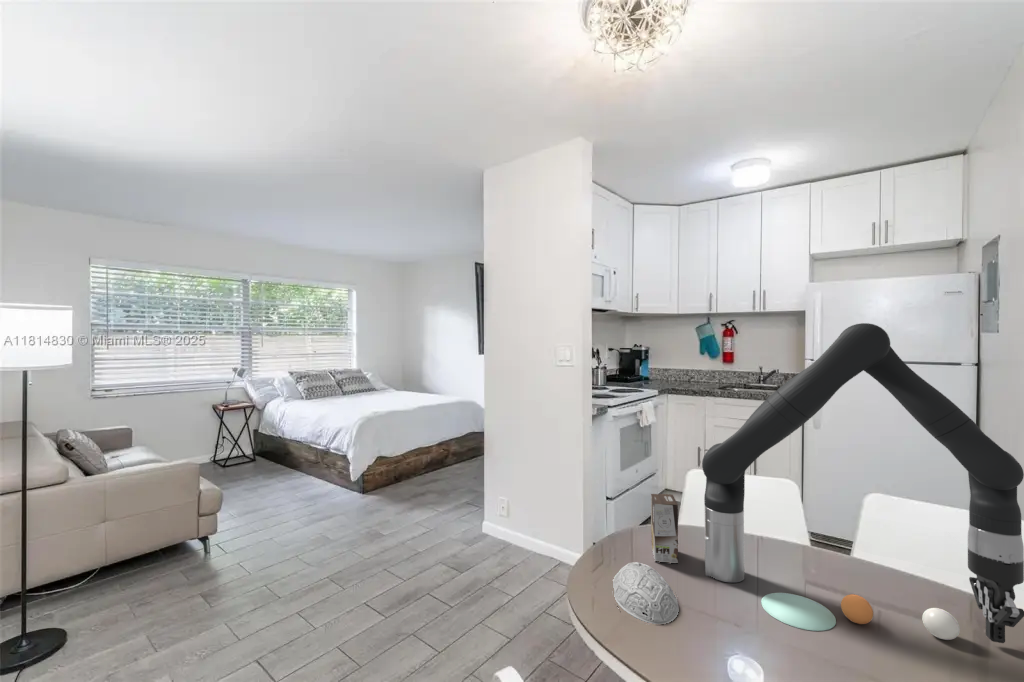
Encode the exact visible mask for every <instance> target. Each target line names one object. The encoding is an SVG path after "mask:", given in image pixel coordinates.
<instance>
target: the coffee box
mask: <svg viewBox="0 0 1024 682" xmlns="http://www.w3.org/2000/svg"><path fill="white" fill-rule="evenodd" d="M650 519H651V520H650V528H651V529H650V531H651V532H650V533H651V535H650V536H651V551H653V552H652V555H654V556H653V559H655V560H654V562H655V561H661V562H671V563H678V564H679V504H678V502H677V500H676V498H675V496H674V494H670V493H669V494H668V493H650ZM671 563H670V564H671Z"/></svg>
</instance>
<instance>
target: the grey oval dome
mask: <svg viewBox="0 0 1024 682" xmlns="http://www.w3.org/2000/svg"><path fill="white" fill-rule="evenodd" d="M613 578H614V579H613ZM613 578H612V581H613V588H614V597H615V600H616V602H617V603H618V605H619V606H620V607H621V608H622V609H623V610H624V611H626V612H627V613H628V614H630V615H631V616H633V617H634V618H636V619H639V620H641V621H644V622H647V623H652V624H664V623H665V624H664V625H667V624H666V623H668V624H670V623H669V622H671V621H672V622H673V620H674V619H675V618H676V617H677V618H678V616H679V613H680V606H679V602H678V600H677V599H678V598H677V599H676V597H675V595H674V593H675V592H674V591H673V589H672V587H671V586H670V584H669V583H668V582H667V581H666V580H665V579H664V577H663V576H662V575H661V574H660V573H659V572H658V571H657V570H656V569H654V568H653V567H652V566H651V565H647V564H646V563H645V564H644V563H641V562H639V561H634V562H633V561H632V562H628V563H627V564H625V565H624V566H621V568H620V570H619V571H618V572H617V573H616V574H615V576H614V577H613ZM673 592H674V593H673ZM678 612H679V613H678ZM643 613H644V614H643ZM677 615H678V616H677ZM677 618H676V619H677ZM676 619H675V620H676ZM675 620H674V621H675ZM672 622H671V623H672Z"/></svg>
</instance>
